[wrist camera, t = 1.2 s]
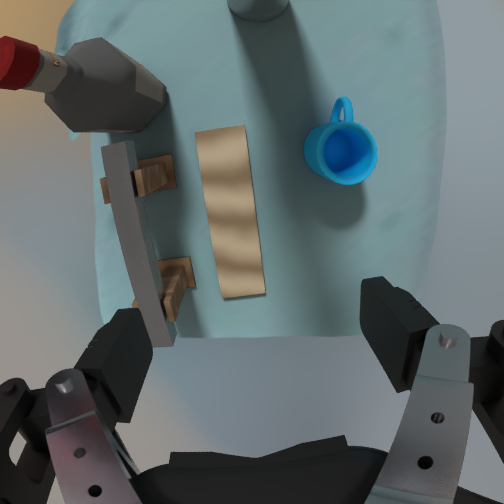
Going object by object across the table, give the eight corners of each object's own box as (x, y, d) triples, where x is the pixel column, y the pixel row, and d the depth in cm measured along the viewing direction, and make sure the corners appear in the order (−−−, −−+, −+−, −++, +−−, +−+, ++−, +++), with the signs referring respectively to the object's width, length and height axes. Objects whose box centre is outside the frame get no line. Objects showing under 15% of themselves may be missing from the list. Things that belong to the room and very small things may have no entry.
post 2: (148, 261, 48) (123, 298, 36) (189, 256, 48) (174, 293, 36) (155, 289, 50) (134, 330, 38) (195, 284, 50) (183, 327, 38)
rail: (111, 146, 32) (100, 147, 29) (133, 140, 32) (124, 140, 29) (156, 334, 41) (152, 347, 38) (176, 333, 41) (173, 346, 38)
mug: (352, 180, 45) (373, 188, 37) (300, 174, 44) (313, 181, 36) (359, 105, 40) (382, 99, 33) (307, 95, 40) (322, 86, 32)
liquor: (137, 60, 37) (14, -16, 9) (176, 96, 39) (73, 31, 11) (97, 105, 39) (-53, 88, 11) (134, 141, 41) (-9, 155, 13)
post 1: (128, 163, 42) (91, 172, 31) (171, 154, 42) (146, 158, 31) (133, 194, 44) (100, 213, 32) (176, 187, 44) (154, 203, 32)
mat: (196, 132, 41) (194, 132, 40) (244, 125, 41) (244, 125, 40) (222, 295, 50) (222, 298, 49) (264, 290, 50) (265, 293, 49)
